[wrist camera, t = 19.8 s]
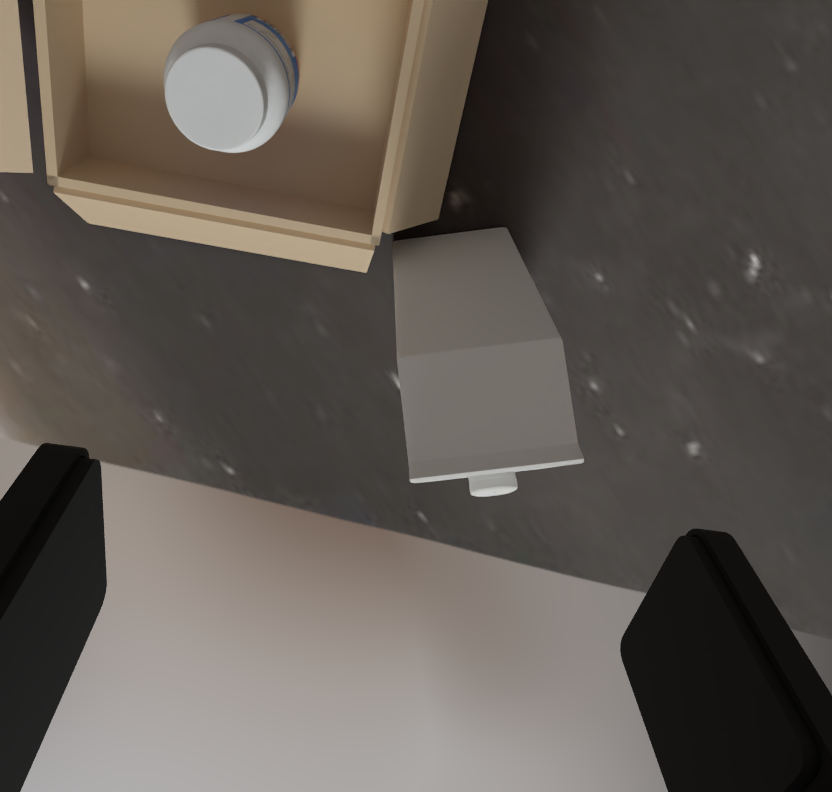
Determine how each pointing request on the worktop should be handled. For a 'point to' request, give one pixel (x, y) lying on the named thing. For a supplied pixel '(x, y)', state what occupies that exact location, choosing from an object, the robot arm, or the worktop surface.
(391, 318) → the worktop surface
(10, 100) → the flap
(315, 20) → the carton
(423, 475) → the milk carton
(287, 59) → the pill bottle
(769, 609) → the robot arm
